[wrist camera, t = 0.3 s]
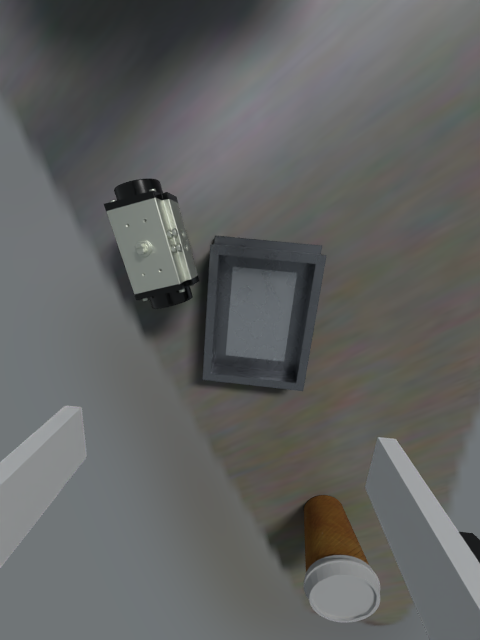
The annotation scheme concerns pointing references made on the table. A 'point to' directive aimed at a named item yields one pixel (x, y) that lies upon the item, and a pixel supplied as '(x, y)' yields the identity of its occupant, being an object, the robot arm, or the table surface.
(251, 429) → the table surface
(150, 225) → the pneumatic valve
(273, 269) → the rectangular open-top bin
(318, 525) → the disposable coffee cup
